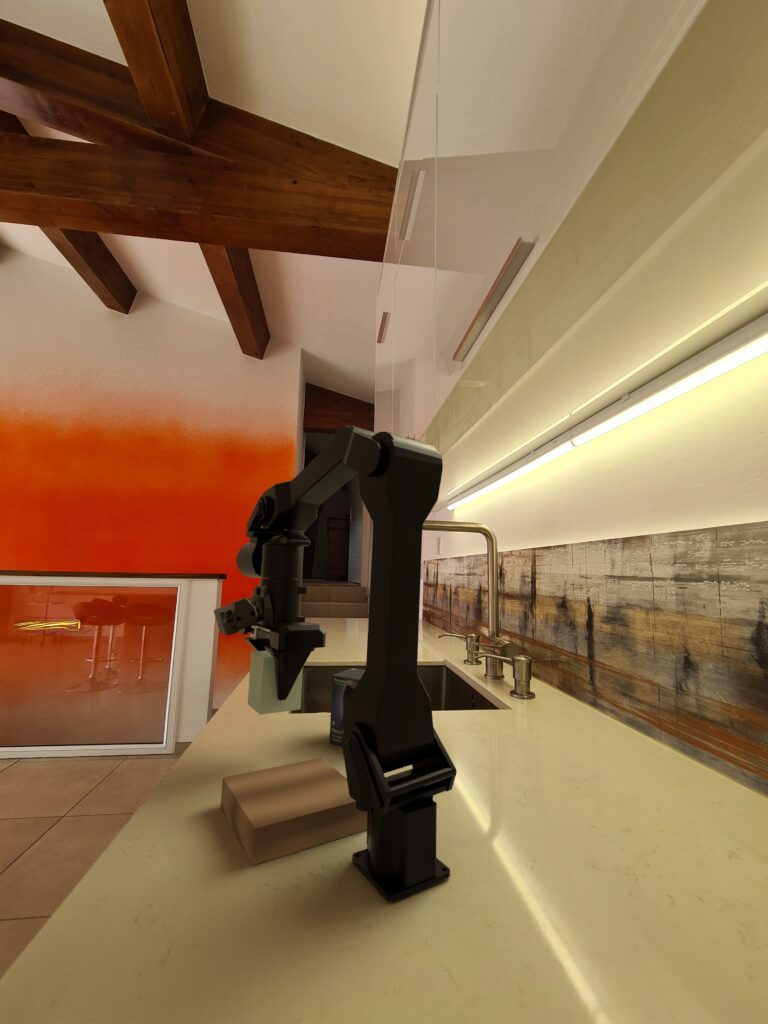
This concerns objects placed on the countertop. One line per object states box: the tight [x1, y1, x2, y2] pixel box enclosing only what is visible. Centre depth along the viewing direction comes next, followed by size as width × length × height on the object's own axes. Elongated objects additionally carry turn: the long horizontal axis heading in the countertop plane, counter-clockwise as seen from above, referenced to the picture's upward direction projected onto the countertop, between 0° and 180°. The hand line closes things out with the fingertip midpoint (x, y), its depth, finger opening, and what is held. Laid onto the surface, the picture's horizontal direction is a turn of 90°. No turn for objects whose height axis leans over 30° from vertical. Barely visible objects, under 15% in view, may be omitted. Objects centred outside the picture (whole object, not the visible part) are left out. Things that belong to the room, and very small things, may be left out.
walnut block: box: [220, 757, 367, 866], centre depth 48 cm, size 12×12×3 cm
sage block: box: [247, 650, 304, 716], centre depth 62 cm, size 6×6×7 cm
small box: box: [328, 667, 365, 747], centre depth 71 cm, size 11×6×10 cm, turn 62°
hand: (274, 694), depth 62 cm, fingers closed on sage block, 5 cm apart
